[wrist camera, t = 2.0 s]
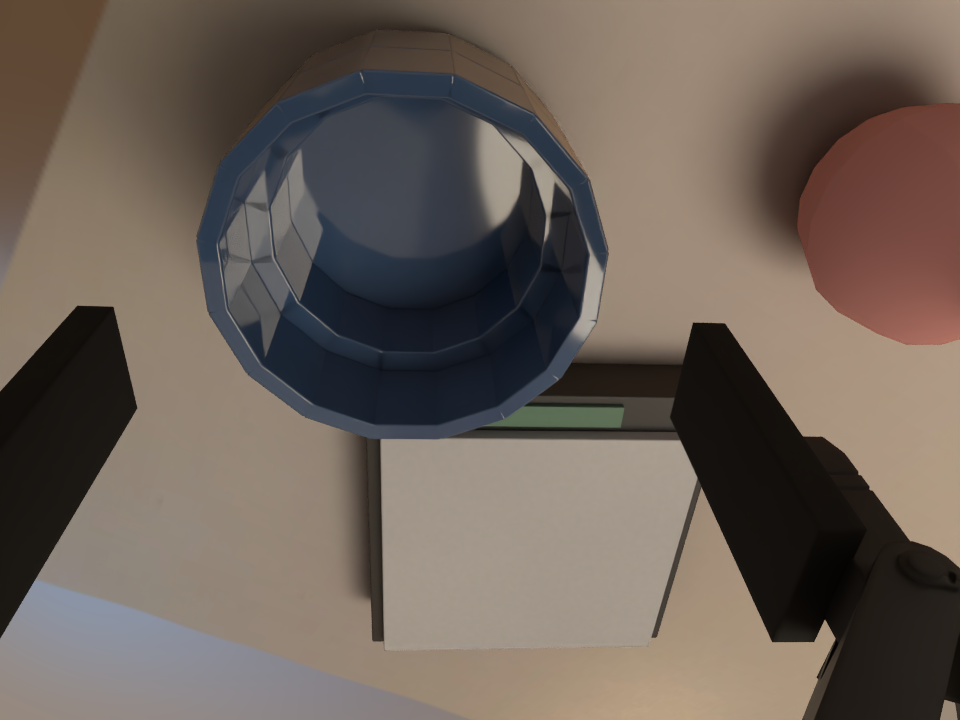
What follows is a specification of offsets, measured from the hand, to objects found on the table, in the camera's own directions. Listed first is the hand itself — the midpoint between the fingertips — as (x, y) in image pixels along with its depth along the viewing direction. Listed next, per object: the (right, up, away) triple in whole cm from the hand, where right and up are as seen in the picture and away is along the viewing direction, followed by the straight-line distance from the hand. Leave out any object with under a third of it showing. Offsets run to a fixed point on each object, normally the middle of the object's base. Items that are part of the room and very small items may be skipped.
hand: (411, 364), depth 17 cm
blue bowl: (-1, +6, +9) cm, 11 cm away
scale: (+4, -6, +17) cm, 19 cm away
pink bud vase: (+16, +7, +10) cm, 20 cm away
